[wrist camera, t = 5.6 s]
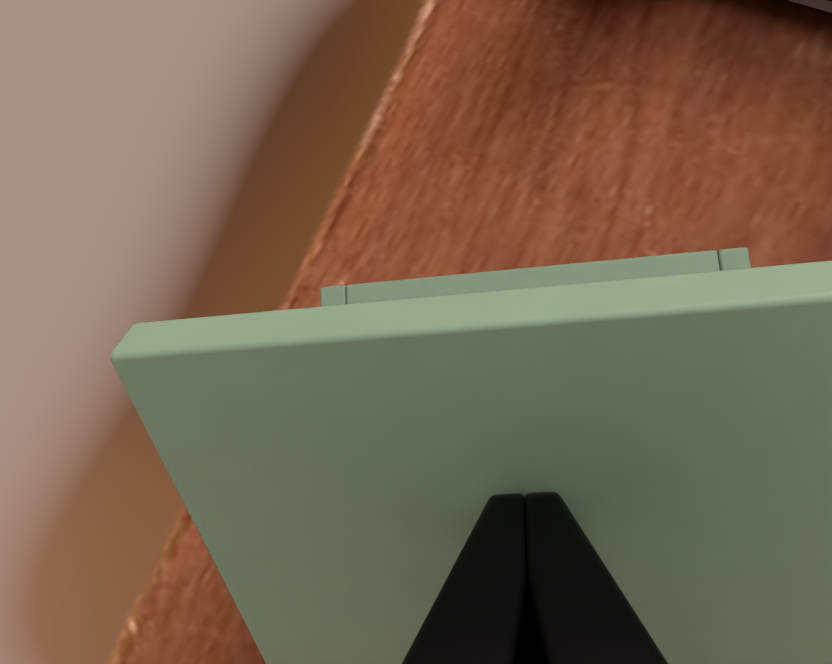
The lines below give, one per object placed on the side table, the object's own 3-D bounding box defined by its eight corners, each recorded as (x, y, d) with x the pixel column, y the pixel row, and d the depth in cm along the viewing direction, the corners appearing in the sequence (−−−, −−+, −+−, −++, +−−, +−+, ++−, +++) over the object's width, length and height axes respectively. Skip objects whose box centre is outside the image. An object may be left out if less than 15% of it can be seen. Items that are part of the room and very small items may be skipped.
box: (384, 345, 22) (319, 286, 16) (687, 321, 21) (748, 246, 14) (394, 657, 20) (323, 732, 14) (732, 656, 18) (828, 741, 12)
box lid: (131, 320, 8) (104, 355, 8) (995, 242, 7) (1038, 279, 6) (319, 720, 14) (312, 759, 13) (829, 727, 12) (845, 772, 11)
